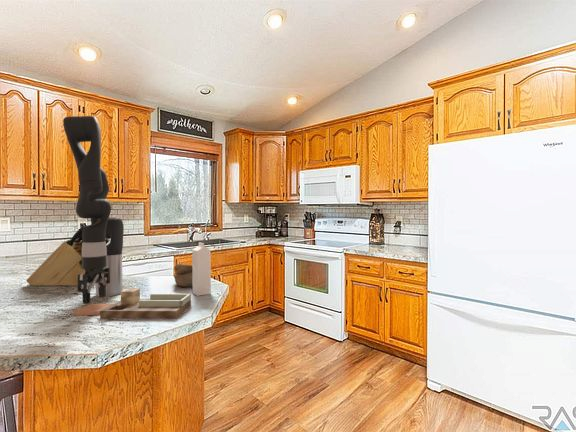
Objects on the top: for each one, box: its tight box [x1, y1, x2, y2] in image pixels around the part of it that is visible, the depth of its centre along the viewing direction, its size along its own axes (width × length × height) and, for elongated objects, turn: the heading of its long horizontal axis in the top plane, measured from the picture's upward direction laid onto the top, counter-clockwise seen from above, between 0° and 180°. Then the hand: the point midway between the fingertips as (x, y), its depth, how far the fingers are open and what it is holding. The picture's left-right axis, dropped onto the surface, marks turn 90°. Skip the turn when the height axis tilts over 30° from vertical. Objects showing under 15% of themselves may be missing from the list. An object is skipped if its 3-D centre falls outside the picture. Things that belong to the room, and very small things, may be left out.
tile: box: [73, 303, 114, 316], centre depth 110 cm, size 9×9×1 cm
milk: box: [191, 241, 212, 297], centre depth 133 cm, size 6×6×22 cm
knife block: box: [25, 223, 111, 287], centre depth 153 cm, size 11×35×31 cm, turn 90°
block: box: [120, 287, 141, 304], centre depth 111 cm, size 4×4×4 cm
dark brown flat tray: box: [99, 298, 192, 320], centre depth 108 cm, size 26×14×2 cm, turn 89°
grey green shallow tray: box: [139, 293, 192, 307], centre depth 111 cm, size 15×9×2 cm, turn 89°
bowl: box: [173, 263, 193, 288], centre depth 147 cm, size 18×14×10 cm
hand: (94, 300), depth 110 cm, fingers open, 8 cm apart
